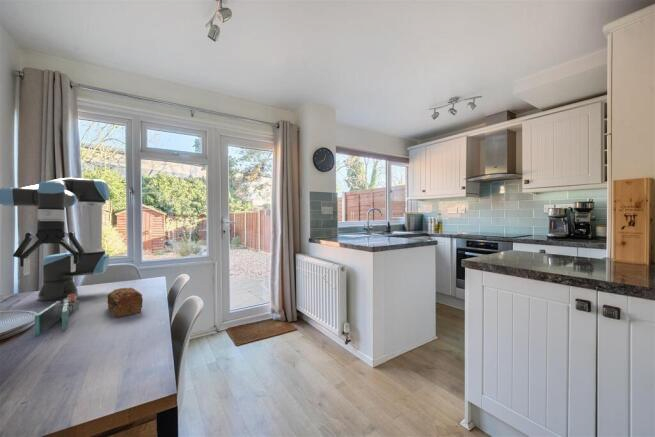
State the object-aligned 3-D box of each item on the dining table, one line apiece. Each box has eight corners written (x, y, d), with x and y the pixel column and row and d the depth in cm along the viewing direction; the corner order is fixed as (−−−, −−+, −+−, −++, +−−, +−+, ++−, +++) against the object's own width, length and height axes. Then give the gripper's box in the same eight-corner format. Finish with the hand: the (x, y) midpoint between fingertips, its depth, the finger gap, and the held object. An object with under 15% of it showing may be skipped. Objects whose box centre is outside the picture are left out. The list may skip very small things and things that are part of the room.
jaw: (63, 313, 117) (63, 298, 117) (70, 311, 119) (71, 297, 119) (59, 329, 100) (59, 312, 100) (68, 328, 101) (68, 310, 101)
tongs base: (66, 309, 123) (66, 294, 123) (79, 308, 126) (79, 292, 126) (31, 336, 96) (31, 316, 96) (48, 334, 98) (48, 314, 98)
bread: (143, 313, 121) (143, 291, 121) (113, 319, 113) (113, 296, 113) (133, 303, 133) (133, 283, 133) (106, 308, 126) (106, 287, 126)
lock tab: (69, 300, 124) (69, 294, 124) (76, 299, 125) (76, 293, 125) (66, 301, 121) (66, 295, 121) (74, 301, 122) (74, 295, 122)
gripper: (0, 220, 98) (-1, 278, 97) (88, 220, 109) (87, 272, 109) (12, 220, 104) (11, 274, 104) (94, 220, 116) (93, 269, 116)
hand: (50, 273), depth 106 cm, fingers open, 13 cm apart
